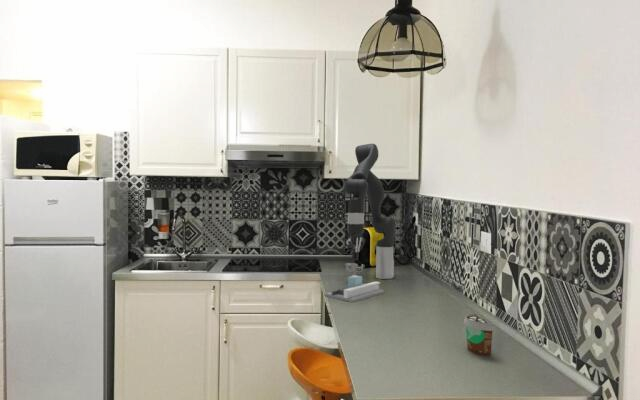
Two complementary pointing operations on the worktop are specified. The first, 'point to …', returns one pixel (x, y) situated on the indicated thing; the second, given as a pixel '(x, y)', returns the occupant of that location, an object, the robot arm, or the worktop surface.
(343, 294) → the rail mount
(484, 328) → the food container
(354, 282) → the block
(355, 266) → the mechanical component
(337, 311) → the worktop surface
